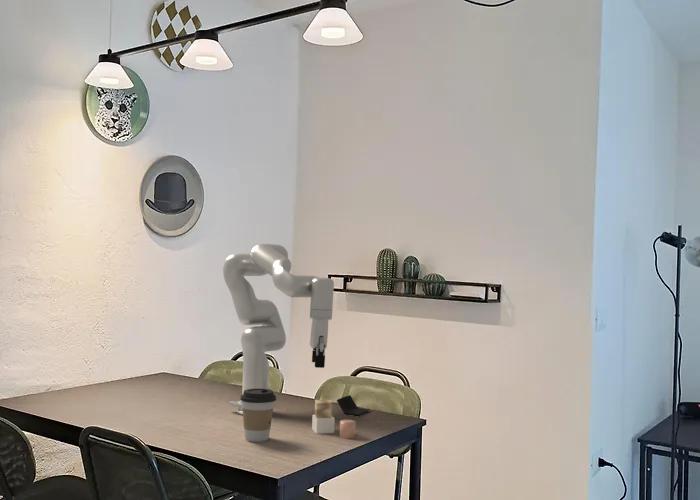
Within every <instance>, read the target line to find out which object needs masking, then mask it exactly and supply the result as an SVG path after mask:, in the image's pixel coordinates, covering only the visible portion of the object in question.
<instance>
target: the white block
mask: <svg viewBox="0 0 700 500" xmlns="http://www.w3.org/2000/svg"><path fill="white" fill-rule="evenodd" d="M311 416H312V418H311V419H312V420H311V422H312V423H311V424H312V426H311V430H312V431H313V432H314V433H315V434H316V435H317V434H335V423H336V422H335V421H336V420H335V417H334V416H333V414H331V418H316V416H315V414H312V415H311Z"/></svg>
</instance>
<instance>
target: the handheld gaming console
mask: <svg viewBox="0 0 700 500" xmlns="http://www.w3.org/2000/svg"><path fill="white" fill-rule="evenodd" d="M336 402H337V404H338V405H339V408H340V410H341V411H342V412H343V415H344V414H346V415H345V416H349V415H354V416H353V417H356V416H359V417H361V416H363V415H362V414H364V413H366V412H368V411H369V410H370V408H369V409H367V408H363V407H362V408H361V407H359V406H357V404H356V402H355V400H354V399H353V397H352V396H351V395H349V394H348V395H346V396H344V397H339V398H338V399H337V400H336ZM368 413H369V412H368ZM366 414H367V413H366ZM360 415H361V416H360ZM364 415H365V414H364Z"/></svg>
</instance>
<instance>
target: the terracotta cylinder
mask: <svg viewBox="0 0 700 500" xmlns="http://www.w3.org/2000/svg"><path fill="white" fill-rule="evenodd" d="M339 438H341V439H344V440H351V439H355V438H356V421H355V420H352V419H342V420H340V421H339Z"/></svg>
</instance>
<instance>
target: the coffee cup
mask: <svg viewBox="0 0 700 500" xmlns="http://www.w3.org/2000/svg"><path fill="white" fill-rule="evenodd" d="M239 401H242V410H243V415H242V419H243V428H244V431H243V432H244V437H245V441H247V442H251V443H262V442H266V441H268V440H269V437H270V433H271V427H272V426H271V425H272V419H273V414H274V406H275V402H276V401H277V396H276V395H275V394H274V391H273V389H269V388H268V389H260V388H256V389H247V390H244V393H243V395H242V394H241V395H240V398H239Z"/></svg>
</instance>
